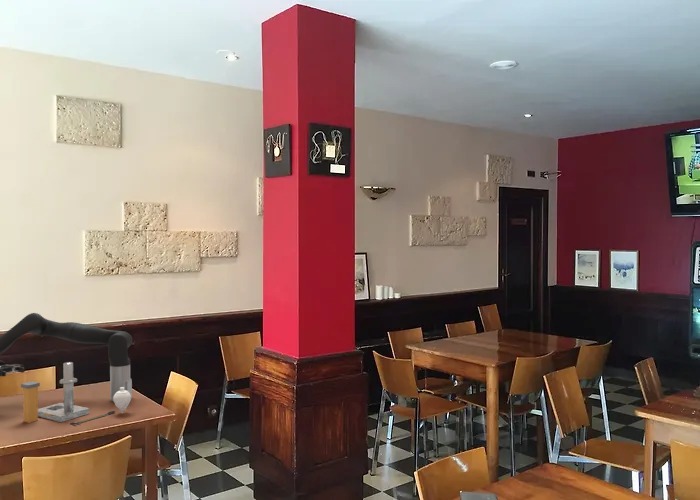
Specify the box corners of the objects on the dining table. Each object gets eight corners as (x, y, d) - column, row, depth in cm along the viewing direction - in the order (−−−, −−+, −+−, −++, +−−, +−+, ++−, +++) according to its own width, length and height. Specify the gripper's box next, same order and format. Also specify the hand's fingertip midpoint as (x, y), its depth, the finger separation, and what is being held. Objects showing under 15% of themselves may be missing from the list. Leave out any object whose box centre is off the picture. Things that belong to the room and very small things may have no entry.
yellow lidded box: (21, 421, 256) (20, 383, 256) (32, 418, 261) (32, 381, 261) (28, 423, 254) (28, 385, 253) (40, 420, 259) (39, 382, 258)
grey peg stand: (33, 415, 264) (33, 362, 264) (61, 407, 277) (61, 356, 276) (61, 422, 255) (60, 367, 255) (89, 413, 268) (88, 361, 267)
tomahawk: (77, 429, 249) (77, 427, 249) (69, 425, 253) (69, 422, 253) (121, 416, 266) (121, 413, 266) (113, 412, 270) (113, 410, 270)
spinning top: (126, 410, 273) (126, 384, 273) (134, 413, 268) (133, 387, 268) (110, 413, 268) (110, 387, 268) (117, 417, 263) (117, 390, 262)
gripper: (-24, 362, 263) (-2, 366, 256) (8, 356, 276) (29, 360, 268) (-24, 379, 264) (-2, 383, 256) (8, 372, 276) (29, 377, 268)
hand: (14, 372), depth 262 cm, fingers open, 8 cm apart
